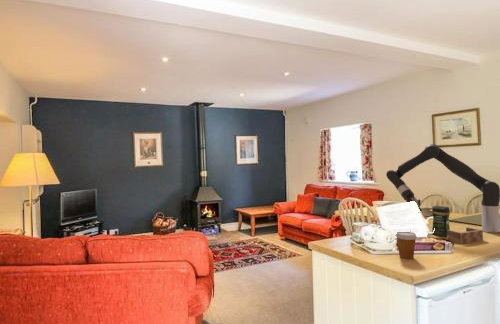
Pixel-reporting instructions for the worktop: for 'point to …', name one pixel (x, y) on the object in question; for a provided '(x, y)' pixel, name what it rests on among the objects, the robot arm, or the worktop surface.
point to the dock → (465, 236)
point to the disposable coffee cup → (406, 244)
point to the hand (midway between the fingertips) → (420, 211)
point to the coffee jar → (440, 220)
